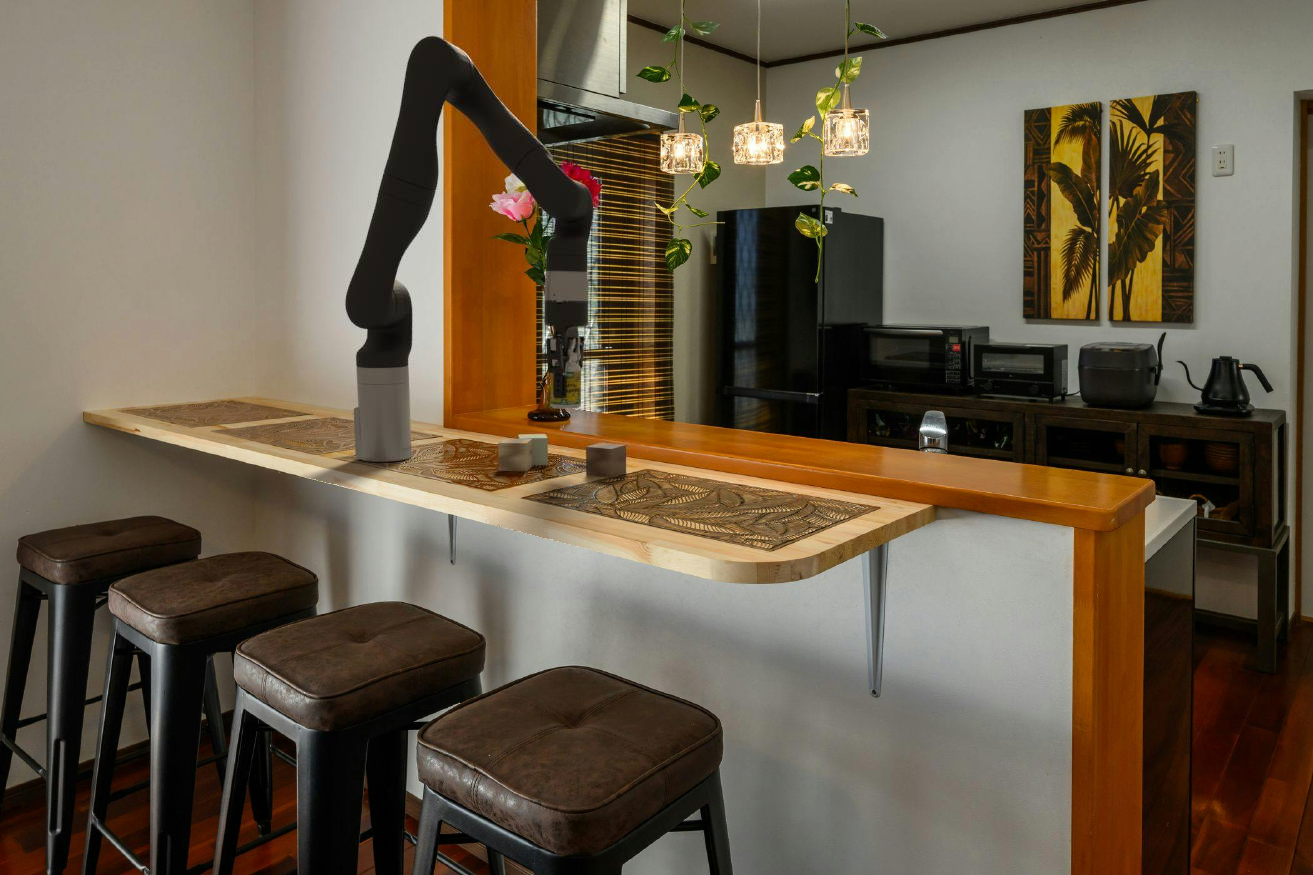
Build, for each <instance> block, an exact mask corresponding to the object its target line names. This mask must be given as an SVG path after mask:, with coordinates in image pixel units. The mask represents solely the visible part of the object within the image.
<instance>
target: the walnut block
mask: <svg viewBox="0 0 1313 875" xmlns="http://www.w3.org/2000/svg"><path fill="white" fill-rule="evenodd" d="M624 474H627V444H620V443H619V444H618V443H608V442H598V443H594V444H591V445H587V446H585V475H586V476H593V477H600V478H610V479H611V478H615V477H618V476H621V475H624Z"/></svg>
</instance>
